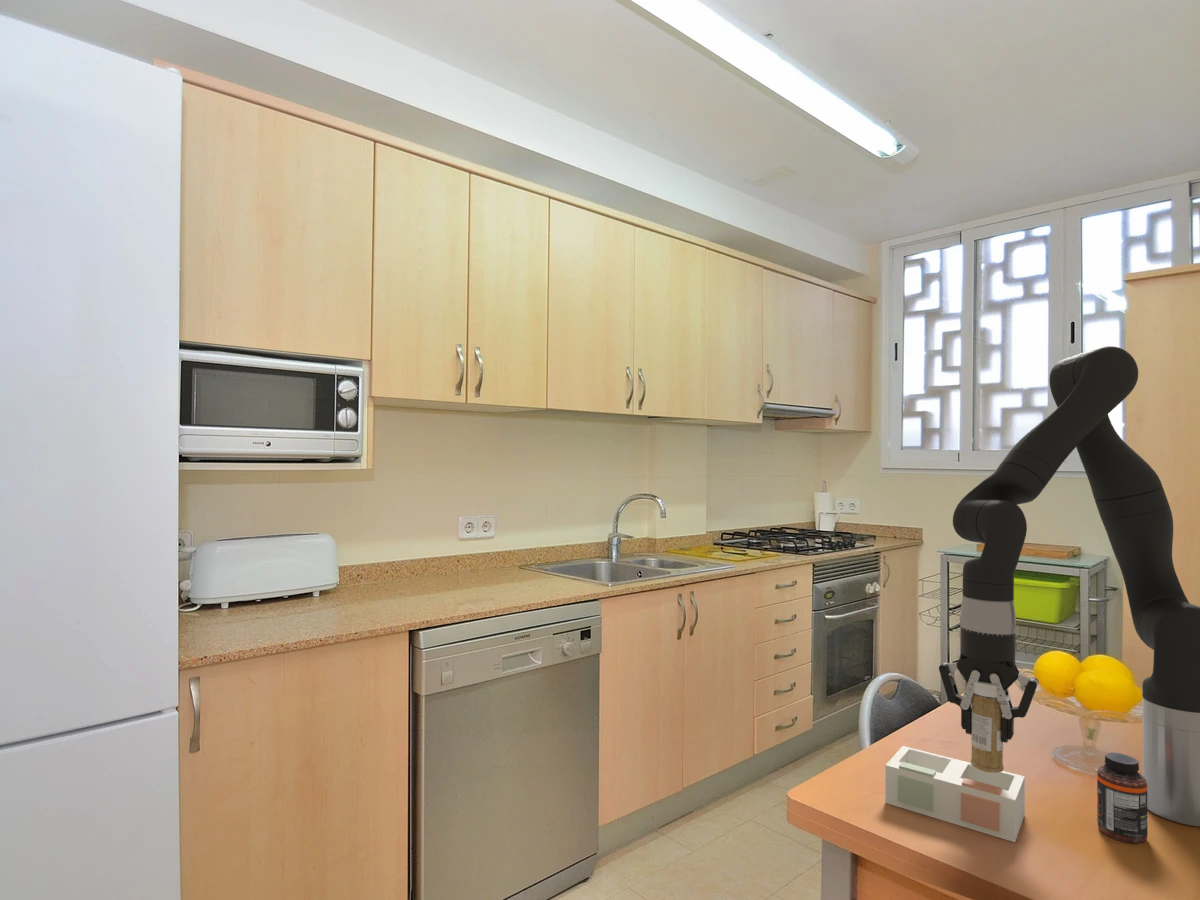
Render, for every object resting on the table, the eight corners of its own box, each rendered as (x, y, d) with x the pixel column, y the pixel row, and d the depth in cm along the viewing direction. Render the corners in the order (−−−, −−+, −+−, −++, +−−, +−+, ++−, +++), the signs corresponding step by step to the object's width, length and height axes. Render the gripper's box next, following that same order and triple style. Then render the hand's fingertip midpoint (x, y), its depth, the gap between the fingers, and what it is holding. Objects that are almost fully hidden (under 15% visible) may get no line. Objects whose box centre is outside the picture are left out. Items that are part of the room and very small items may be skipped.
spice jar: (1010, 773, 105) (1011, 685, 105) (983, 774, 104) (983, 685, 105) (989, 760, 109) (990, 675, 110) (963, 761, 109) (964, 676, 109)
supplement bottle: (1098, 819, 106) (1098, 745, 106) (1147, 833, 102) (1147, 756, 102) (1095, 835, 101) (1095, 758, 102) (1147, 850, 98) (1147, 769, 98)
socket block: (1024, 815, 107) (1024, 773, 107) (1014, 843, 99) (1014, 798, 99) (902, 781, 118) (902, 743, 118) (884, 803, 110) (884, 763, 110)
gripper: (1044, 629, 106) (1043, 741, 105) (943, 615, 115) (942, 718, 114) (1038, 639, 100) (1037, 757, 100) (932, 623, 109) (931, 732, 109)
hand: (986, 736), depth 107 cm, fingers closed on spice jar, 4 cm apart
